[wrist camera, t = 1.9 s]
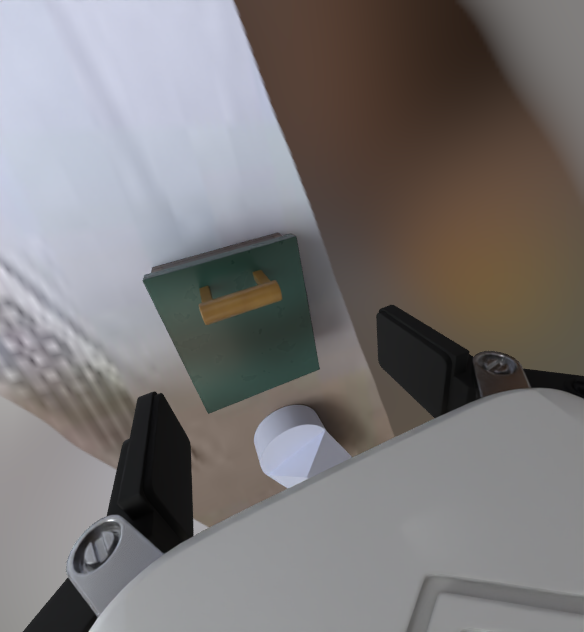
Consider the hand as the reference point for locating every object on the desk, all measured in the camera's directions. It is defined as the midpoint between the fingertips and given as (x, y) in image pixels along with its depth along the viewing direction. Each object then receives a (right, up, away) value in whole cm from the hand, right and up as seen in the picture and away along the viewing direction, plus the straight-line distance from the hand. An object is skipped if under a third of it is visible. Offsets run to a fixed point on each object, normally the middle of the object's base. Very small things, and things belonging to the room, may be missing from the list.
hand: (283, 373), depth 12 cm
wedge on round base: (+1, -14, +27) cm, 30 cm away
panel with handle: (-4, +2, +12) cm, 13 cm away
